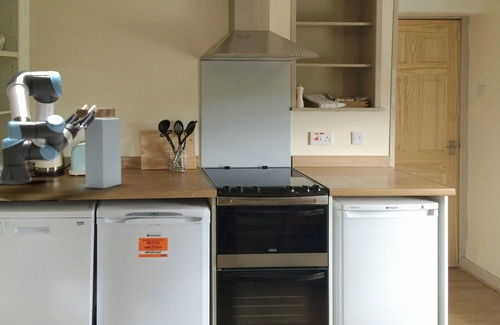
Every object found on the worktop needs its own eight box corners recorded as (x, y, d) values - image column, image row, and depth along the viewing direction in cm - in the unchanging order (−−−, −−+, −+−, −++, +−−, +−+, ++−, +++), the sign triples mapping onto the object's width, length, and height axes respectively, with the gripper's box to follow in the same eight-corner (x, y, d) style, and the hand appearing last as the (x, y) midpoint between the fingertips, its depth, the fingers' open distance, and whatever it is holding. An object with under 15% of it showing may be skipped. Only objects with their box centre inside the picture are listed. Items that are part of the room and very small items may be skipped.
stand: (103, 188, 279) (102, 119, 276) (85, 187, 282) (84, 119, 279) (121, 183, 294) (120, 118, 291) (104, 182, 298) (102, 118, 294)
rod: (84, 118, 267) (84, 109, 266) (77, 117, 268) (76, 109, 268) (115, 116, 291) (114, 108, 291) (108, 116, 293) (108, 108, 292)
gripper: (52, 141, 262) (78, 113, 280) (84, 142, 257) (109, 114, 275) (46, 127, 258) (73, 100, 276) (79, 128, 253) (104, 100, 270)
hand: (91, 107), depth 275 cm, fingers closed on rod, 4 cm apart
